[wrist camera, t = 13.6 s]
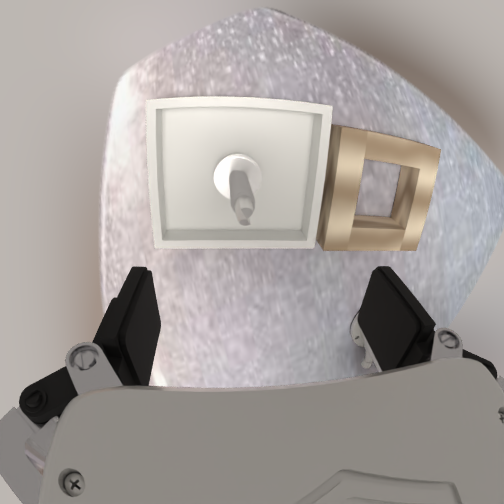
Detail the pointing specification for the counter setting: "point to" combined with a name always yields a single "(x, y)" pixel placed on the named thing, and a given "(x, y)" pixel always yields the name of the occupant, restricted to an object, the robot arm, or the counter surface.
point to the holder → (348, 183)
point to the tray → (227, 143)
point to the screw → (239, 184)
